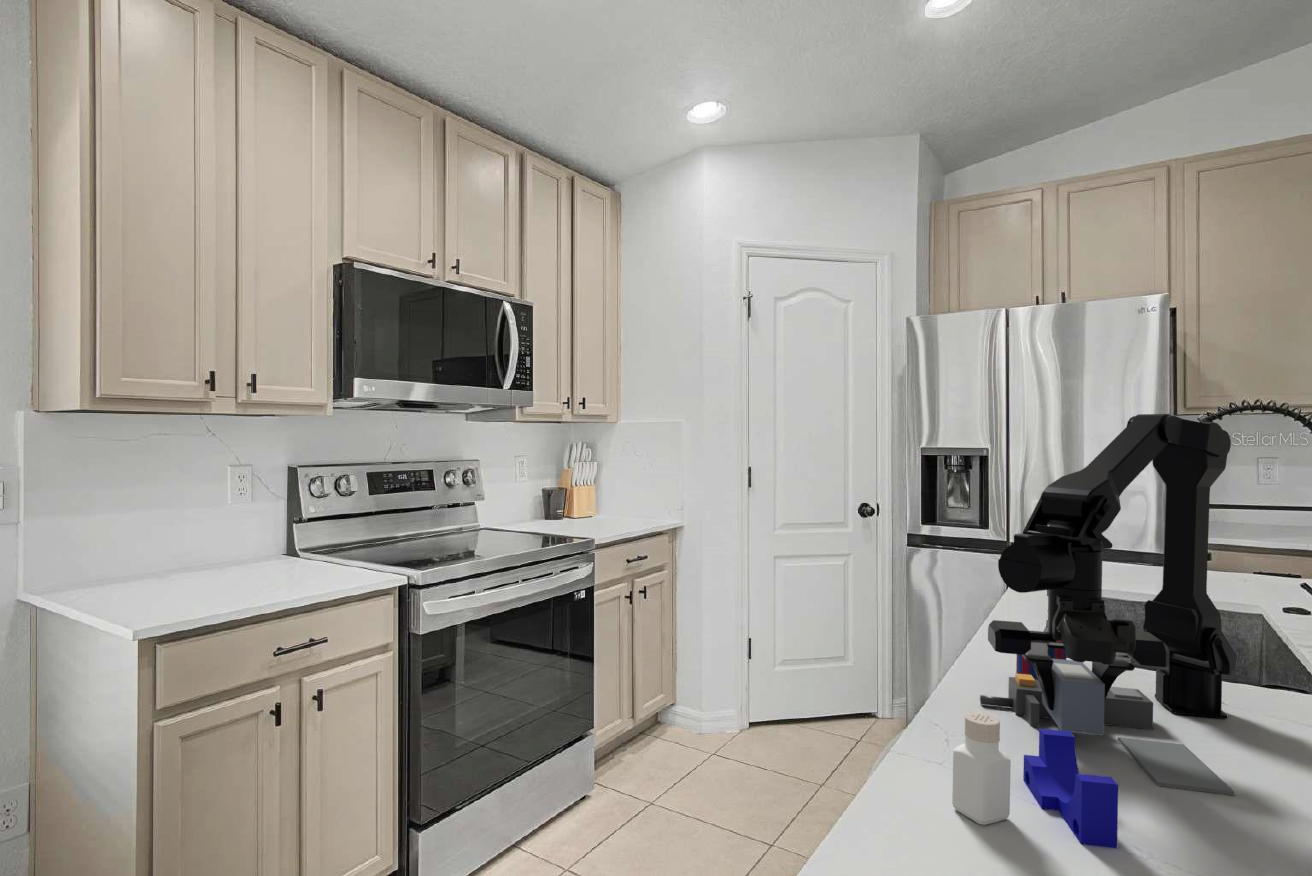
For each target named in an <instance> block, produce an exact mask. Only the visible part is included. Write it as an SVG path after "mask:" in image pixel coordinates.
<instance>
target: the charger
mask: <svg viewBox="0 0 1312 876" xmlns="http://www.w3.org/2000/svg"><path fill="white" fill-rule="evenodd" d="M1052 660H1053V666H1052V679H1053V690H1054V710H1050V709H1049V708H1048V706H1047V703H1046V700H1045V697H1044V694H1043V691H1042V704H1043V705H1044V707H1045V708H1046V710H1047V711H1048V713H1049V714H1050V715H1051V717H1052V718H1053V719H1052V720H1053V722H1054V723H1055V724H1056V725H1057V727H1058V728H1059V729H1060V730H1062V731H1070V732H1071V733H1079V734H1080V733H1081V734H1089V735H1099V736H1104V735H1105V725H1104V699H1105V684H1104V683H1103V682H1102V681H1101V680H1100V679H1099V678H1098V677H1097V676H1096V675H1095V674H1094V673H1093V672H1092V669H1090V668H1089V667H1088V666H1087V664H1085V662H1076V661H1073V660H1071V659H1066V660H1062V659H1052Z"/></svg>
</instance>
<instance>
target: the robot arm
mask: <svg viewBox="0 0 1312 876" xmlns="http://www.w3.org/2000/svg"><path fill="white" fill-rule="evenodd" d="M1231 442H1232V441H1231V436H1230V434H1229V432H1227V430H1225V429H1223V428H1222V427H1221V425H1220V424H1219V423H1218V422H1214V421H1211V422H1209V421H1208V422H1207V421H1205V422H1202V421H1201V422H1200V421H1194V420H1191V419H1189V420H1188V419H1184V418H1181V417H1178V416H1176V415H1171V414H1170V413H1151V414H1150V413H1147V414H1145V413H1143V414H1142V413H1141V414H1136V415H1135V416H1134V415H1133V416H1131V417H1129V419H1128V421H1127V423H1126V427H1125V428H1124V429H1123V430H1122V431H1120V433H1119V434H1118V435H1117V436H1116V437H1115V438H1114V439H1113V440H1111V442H1110V443H1109V444H1108V445H1107V446H1106V447H1105V448H1104V449H1102V450H1101V452H1100V453H1099V454H1097V456H1096V457H1094V458H1093V460H1092V461H1090V463H1088V465H1086V466H1085V467H1084V468H1082V469H1080V470H1078V471H1074V472H1072V473H1068V474H1066V475H1063V476H1061V477H1059V478H1058V479H1056V480H1054V481H1053V482H1051V483H1050V484H1048V485H1047V486H1046V487H1045V488H1044V490H1043V491H1042V492H1041V494H1040V497H1039V500H1038V501H1037V503H1036V505H1035V507H1034V509H1033V511H1032V513H1031V515H1030V517H1029V519H1028V520H1027V523H1026V525H1025V526H1024V529H1023V531H1022V533H1015V534H1014V535H1013V544H1012V543H1011V544H1010V545H1008V546H1007V547H1006V548H1005V549H1003V551H1002V552H1001V555H1000V556H999V559H998V561H997V562H998V564H997V567H998V572H999V576H1000V578H1001V580H1002V582H1004V584H1005V585H1006V586H1007V587H1008V588H1009V589H1010V590H1013V591H1014V592H1017V593H1020V594H1021V593H1022V594H1023V593H1024V594H1025V593H1034V592H1041V591H1046V596H1047V619H1046V622H1045V623H1046V629H1047V631H1042V630H1041V631H1038V630H1029V629H1028V628H1027V627H1026V625H1025V624H1024V623H1023V622H1021V621H1010V620H998V619H997V620H996V619H995V620H994V619H993V620H992V621H991V622H990V623H989V624H988V626H987V640H988V642H989V644H990V645H991V646H992V648H993V650H994V652H997V653H1000V654H1011V655H1012V654H1013V655H1017V654H1020V655H1022V656H1023V657H1024V659H1025V660H1027V661H1029V662H1031V663H1032V665H1033V667H1034V670H1035V672H1036V674H1037V677H1038V680H1039V683H1040V686H1041V688H1042V691H1043V694H1044V697H1045V700H1046V703H1047V706H1048V708H1049V709H1050V710H1054V690H1053V679H1052V666H1053V660H1052V659H1051V657H1050V656H1049V655H1048V648H1059V649H1065V650H1066V657H1068V659H1069V660H1073V661H1076V662H1083V663H1085V662H1091V671H1092V672H1093V673H1094V674H1095V675H1096V676H1097V677H1098V678H1099V679H1100V680H1101V681H1102V682H1103V683H1104V684H1105V698H1106V696H1107V694H1108V691H1109V690H1110V688H1111V687H1113V686H1112V685H1113V684H1114V683H1115V682H1116V679H1117V678H1118V677H1119V676H1120V675H1122V674H1123V673H1125V672H1127V671H1128V672H1129V671H1130V672H1132V671H1135V668H1136V666H1135V665H1134V664H1133V663H1131V659H1132V658H1133V659H1134V661H1136V663H1138V665H1140V666H1144V667H1145V666H1148V667H1160V668H1157V669H1156V670H1155V694H1154V699H1156V700H1157V701H1158V702H1159V703H1161V704H1162V705H1163V706H1164V707H1165V708H1166V709H1167V710H1169V711H1170V712H1171V713H1173V714H1179V715H1189V716H1198V717H1208V718H1217V719H1220V718H1221V719H1228V718H1229V716H1228V714H1227V713H1226V712H1225V711H1224V710H1222V705H1223V703H1222V701H1223V700H1222V699H1223V698H1222V697H1223V694H1222V693H1223V675H1225V676H1226V675H1227V676H1232V675H1233V672H1234V671H1235V669H1236V666H1237V660H1238V658H1237V657H1238V656H1237V653H1236V652H1235V650H1234V648H1233V647H1232V645H1231V644H1230V642H1229V641H1228V639H1227V637H1226V635H1225V634H1224V632H1223V629H1222V616H1221V613H1220V612H1219V610H1218V609H1217V607H1216V605H1215V604H1214V602H1213V601H1212V600H1211V598H1210V595H1208V594H1207V592H1208V591H1207V588H1208V587H1207V586H1208V582H1207V581H1208V561H1209V560H1208V558H1209V557H1208V556H1209V555H1208V554H1209V553H1208V551H1209V528H1210V527H1209V526H1210V525H1209V523H1210V497H1211V492H1210V491H1211V487H1212V486H1213V485H1214V483H1215V482H1216V481H1217V480H1218V479H1219V477H1221V475H1222V474H1223V472H1224V471H1225V470H1226V467H1227V461H1228V454H1229V453H1230V450H1231V446H1232V443H1231ZM1151 462H1152V466H1153V468H1154V470H1155V471H1156V473H1157V475H1159V478H1160V479H1161V481H1162V482H1163V484H1164V485H1165V504H1164V505H1165V507H1164V508H1165V509H1164V532H1163V533H1164V536H1163V537H1164V538H1163V561H1162V562H1163V563H1162V564H1163V567H1162V587H1161V590H1160V591H1159V592H1158V594H1157V595H1156V596H1154V598H1153V599H1148V600H1147V601H1146V602H1145V604H1144V623H1143V626H1142V628H1143V631H1141V630H1139V631H1138V630H1136V625H1135V623H1134V622H1133V621H1132V620H1128V619H1108V617H1107V614H1106V605H1105V600H1104V599H1103V598H1102V597H1103V594H1102V593H1103V550H1110V549H1112V548H1113V543H1112V542H1111V541H1110V540H1109V539H1108V538H1107V537H1105V535H1103V533H1104V532H1105V531H1107V530H1108V529H1109V527H1111V525H1112V524H1113V522H1114V520H1115V519H1116V517H1117V516H1118V515H1119V513H1120V511H1121V510H1122V509H1121V508H1122V507H1121V500H1120V499H1121V498H1120V497H1121V496H1122V493H1123V492H1124V491H1125V490H1126V489H1127V488H1128V487H1129V486H1130V485H1131V483H1132V482H1134V480H1135V479H1136V478H1137V477H1138V476H1139V475H1140V474H1141V473H1142V472H1143V471H1144V470H1145V468H1147V467H1148V466H1149V464H1151ZM1056 640H1062V641H1056ZM1104 700H1105V699H1104Z"/></svg>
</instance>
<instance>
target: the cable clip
mask: <svg viewBox="0 0 1312 876" xmlns="http://www.w3.org/2000/svg"><path fill="white" fill-rule="evenodd" d="M1022 775H1023V776H1022V777H1023V782H1024V785H1025V786H1026V787H1027V789H1028V791H1029V792H1030V793H1031V796H1033V798H1034V800H1035V801H1036V802H1037V804H1038V805H1039V807H1040V809H1042V810H1048V811H1057V812H1058V814H1059V815H1060V816H1061V817H1062V819H1063V820H1064V822H1065V824H1066V825H1067V826H1068V828H1069V829H1070V830H1071V832H1072V833H1073V836H1074V837H1075V838H1076V840H1077V841H1078V843H1080V845H1083V846H1090V847H1091V846H1092V847H1099V848H1109V849H1115V850H1116V849H1118V828H1119V827H1118V826H1119V825H1118V824H1119V823H1118V819H1119V817H1118V815H1119V812H1118V811H1119V784H1118V783H1117V782H1116V781H1115V779H1114V778H1113V777H1112V776H1105V775H1096V774H1095V775H1093V774H1087V773H1086V774H1085V773H1080V771H1079V766H1078V761H1077V753H1076V736H1074V734H1073V732H1070V731H1062V730H1061V729H1060V730H1059V729H1048V728H1039V729H1038V755H1030V754H1023V774H1022Z"/></svg>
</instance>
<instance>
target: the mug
mask: <svg viewBox="0 0 1312 876" xmlns="http://www.w3.org/2000/svg"><path fill="white" fill-rule="evenodd" d="M1056 641H1062V640H1056ZM1048 655H1049V656H1050V657H1051V659H1062V660H1067V654H1066V650H1065V649H1059V648H1048ZM1015 665H1016V666H1015V667H1016V669H1015V670H1016V671H1015V673H1017V674H1027V675H1032V677H1033V678H1034V679H1036V680H1038V677H1037V674H1036V672H1035V670H1034V667H1033V665H1032V663H1031V662H1029V661H1027V660H1025V659H1024V657H1023V656H1022V655H1020V654H1016V664H1015Z"/></svg>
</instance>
